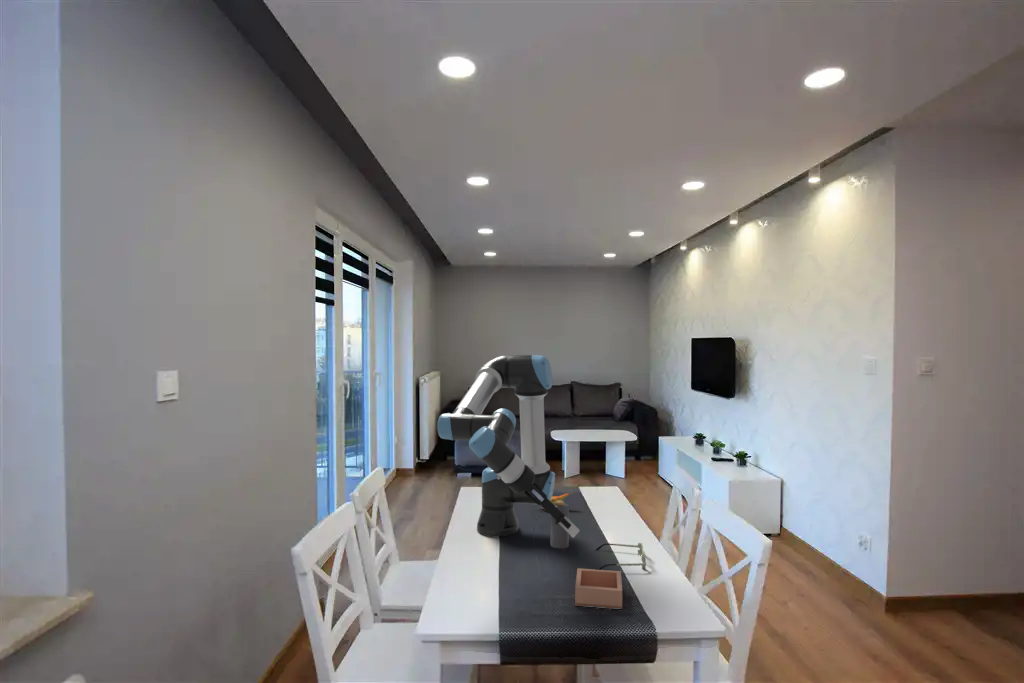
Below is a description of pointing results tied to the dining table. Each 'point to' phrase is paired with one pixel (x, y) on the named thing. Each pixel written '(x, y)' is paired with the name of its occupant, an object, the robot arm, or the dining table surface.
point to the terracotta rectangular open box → (598, 588)
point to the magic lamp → (559, 497)
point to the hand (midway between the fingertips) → (572, 530)
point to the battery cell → (559, 527)
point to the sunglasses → (640, 552)
